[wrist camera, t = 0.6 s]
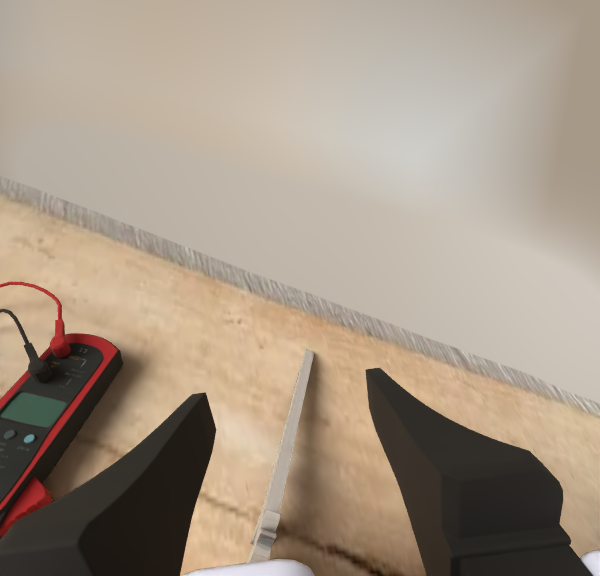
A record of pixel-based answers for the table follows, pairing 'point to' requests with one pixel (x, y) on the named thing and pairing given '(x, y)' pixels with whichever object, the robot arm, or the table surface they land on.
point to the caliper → (280, 471)
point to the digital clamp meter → (48, 412)
